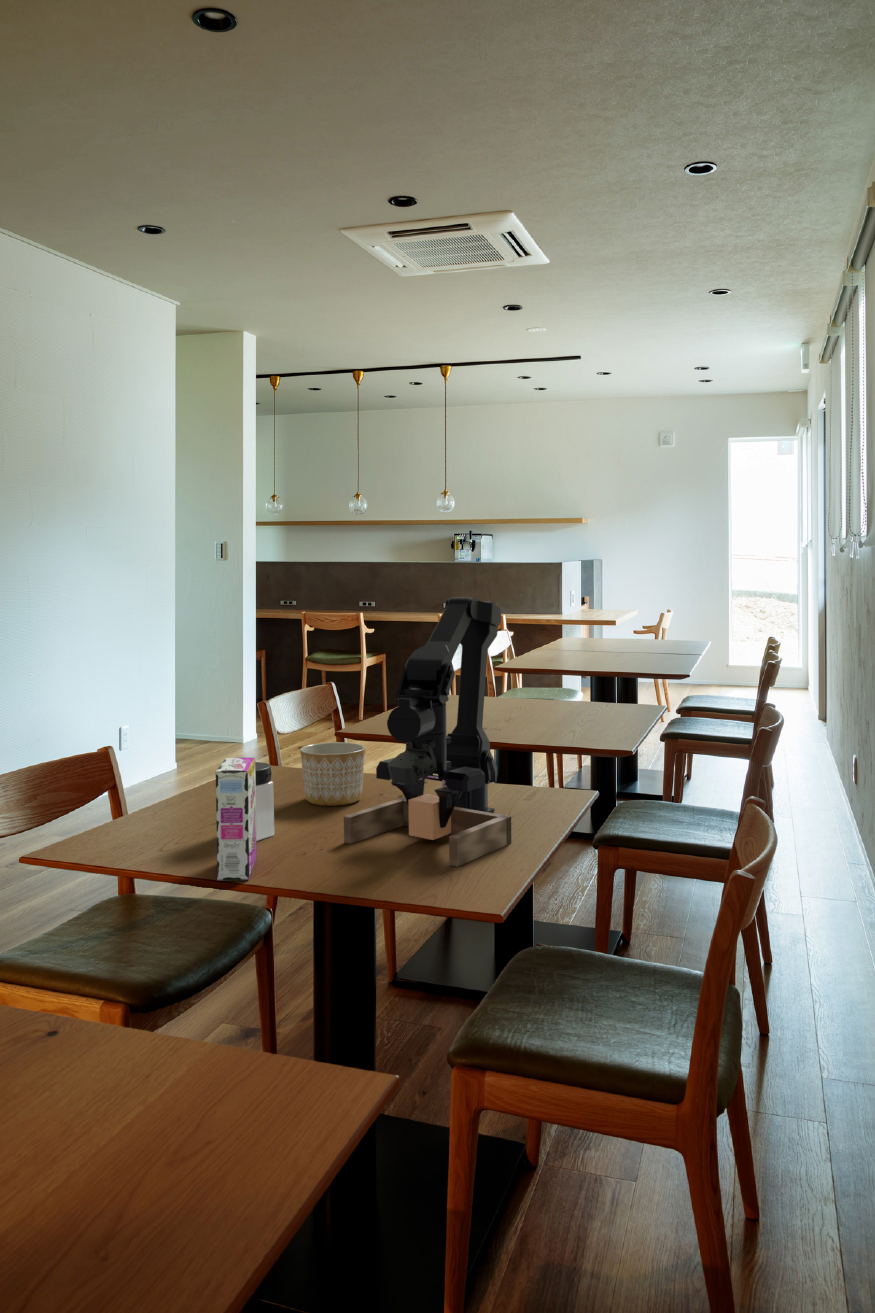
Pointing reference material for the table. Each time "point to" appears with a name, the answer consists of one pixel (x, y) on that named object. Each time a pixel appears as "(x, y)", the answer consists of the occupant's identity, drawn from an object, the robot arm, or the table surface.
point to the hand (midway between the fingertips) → (429, 825)
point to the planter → (333, 773)
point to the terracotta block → (426, 818)
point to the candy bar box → (236, 818)
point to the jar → (264, 801)
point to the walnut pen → (468, 833)
